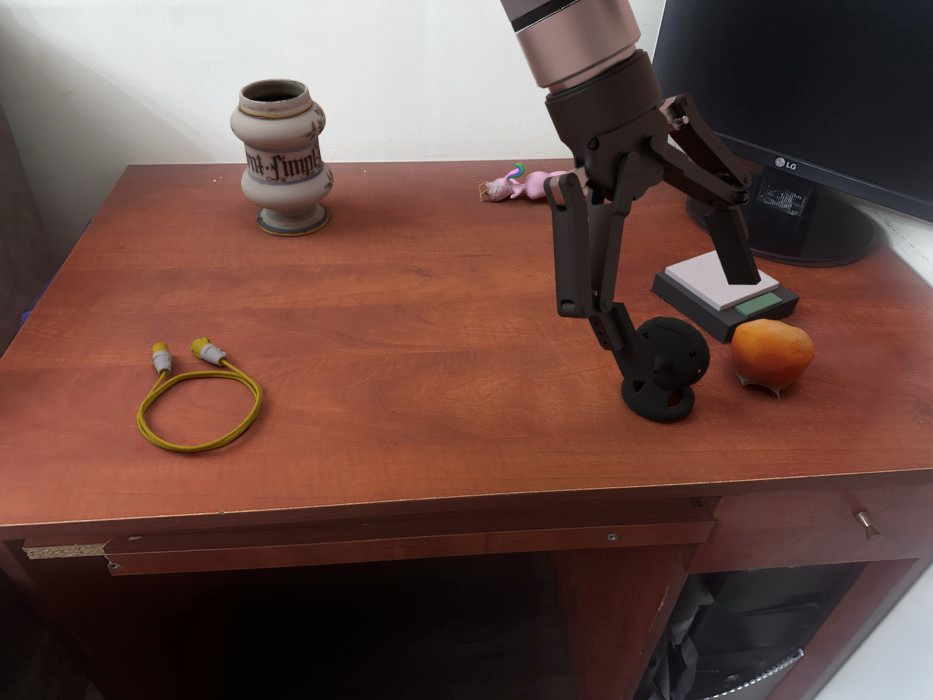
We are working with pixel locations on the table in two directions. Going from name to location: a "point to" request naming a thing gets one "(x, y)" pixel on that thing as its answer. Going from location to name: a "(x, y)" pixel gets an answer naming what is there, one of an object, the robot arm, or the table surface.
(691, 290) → the scale
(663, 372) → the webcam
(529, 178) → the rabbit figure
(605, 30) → the robot arm
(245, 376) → the extension cord
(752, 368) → the fruit
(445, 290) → the table surface
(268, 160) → the apothecary jar
